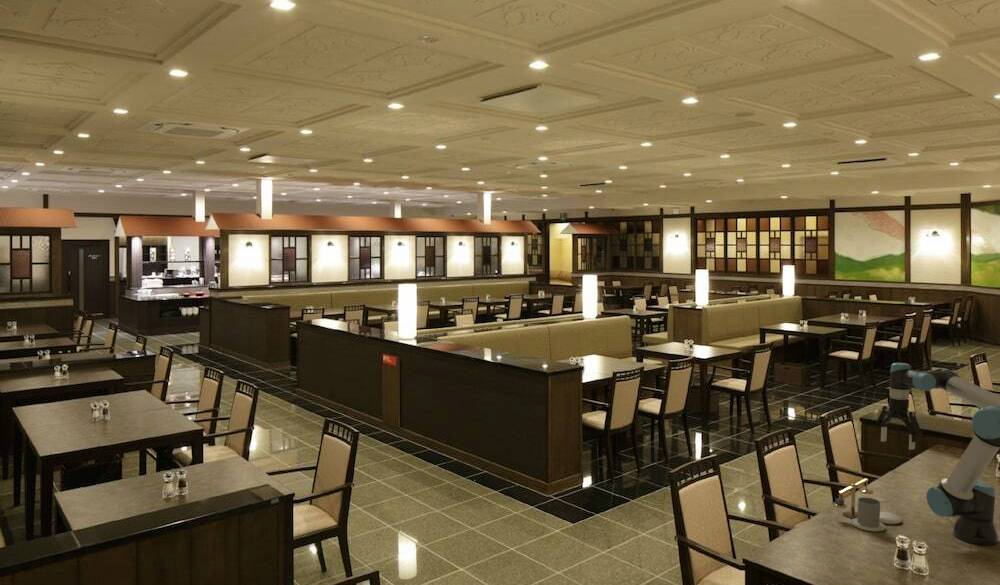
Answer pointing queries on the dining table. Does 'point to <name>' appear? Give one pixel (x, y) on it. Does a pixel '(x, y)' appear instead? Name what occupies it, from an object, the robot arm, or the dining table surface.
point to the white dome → (889, 518)
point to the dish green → (877, 529)
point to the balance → (840, 502)
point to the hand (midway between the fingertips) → (897, 445)
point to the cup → (868, 512)
